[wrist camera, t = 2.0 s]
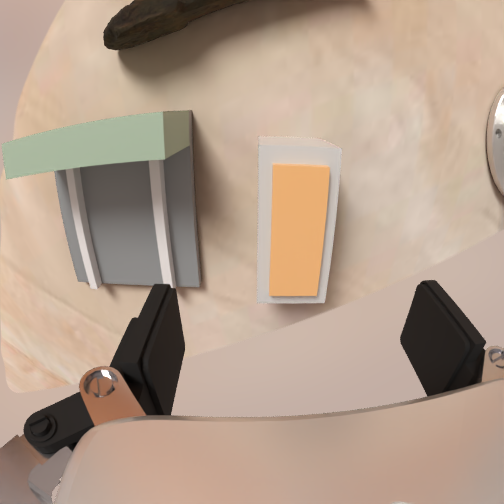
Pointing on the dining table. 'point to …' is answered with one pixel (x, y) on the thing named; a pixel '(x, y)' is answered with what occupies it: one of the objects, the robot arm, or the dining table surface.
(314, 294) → the holder
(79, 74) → the dining table surface
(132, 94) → the dining table surface
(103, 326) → the dining table surface
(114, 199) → the chute mount
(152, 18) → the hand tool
